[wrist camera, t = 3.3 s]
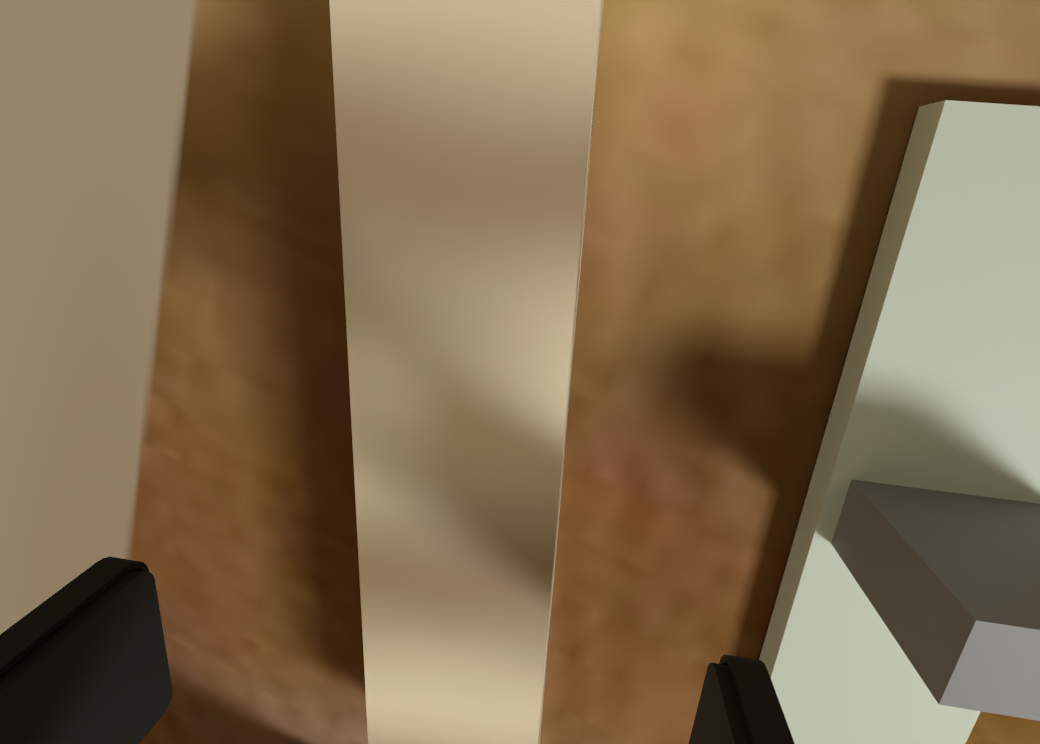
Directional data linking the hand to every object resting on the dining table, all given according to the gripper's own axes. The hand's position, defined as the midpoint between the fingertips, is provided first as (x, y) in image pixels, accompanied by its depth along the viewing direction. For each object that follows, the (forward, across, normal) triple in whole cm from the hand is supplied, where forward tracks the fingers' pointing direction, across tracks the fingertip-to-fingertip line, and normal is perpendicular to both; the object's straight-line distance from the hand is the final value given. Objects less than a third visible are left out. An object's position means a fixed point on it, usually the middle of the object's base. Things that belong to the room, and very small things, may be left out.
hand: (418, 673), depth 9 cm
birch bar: (+8, 0, 0) cm, 8 cm away
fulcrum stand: (+8, -12, 0) cm, 14 cm away
